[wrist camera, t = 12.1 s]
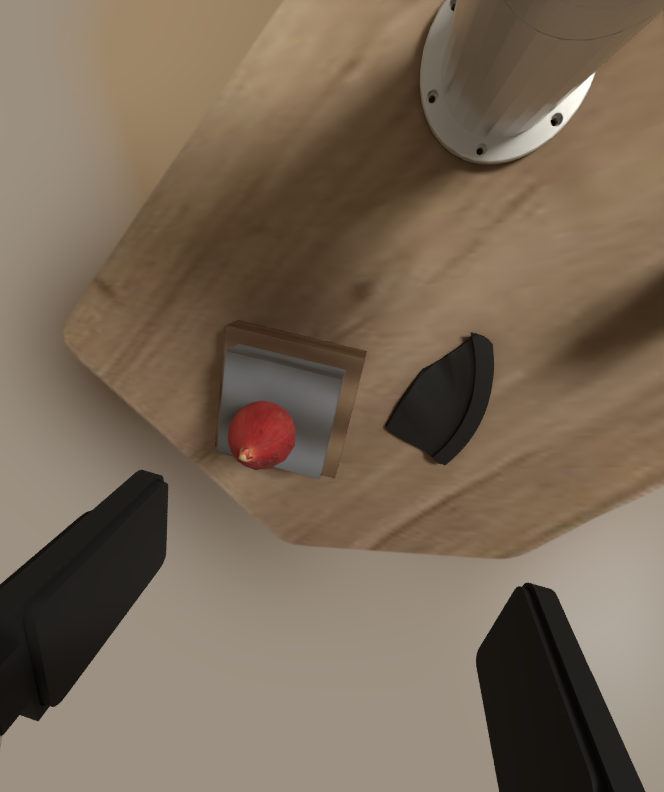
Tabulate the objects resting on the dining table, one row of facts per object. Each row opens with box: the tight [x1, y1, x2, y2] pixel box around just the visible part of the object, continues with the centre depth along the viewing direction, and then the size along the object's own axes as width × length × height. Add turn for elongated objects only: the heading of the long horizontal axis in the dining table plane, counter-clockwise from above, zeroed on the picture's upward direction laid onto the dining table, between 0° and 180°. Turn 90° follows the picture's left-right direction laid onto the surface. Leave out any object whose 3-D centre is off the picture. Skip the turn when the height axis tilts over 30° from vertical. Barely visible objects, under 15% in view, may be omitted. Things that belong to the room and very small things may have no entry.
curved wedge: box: [386, 332, 494, 465], centre depth 38 cm, size 8×14×2 cm, turn 151°
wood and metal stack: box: [215, 321, 367, 479], centre depth 38 cm, size 14×14×6 cm
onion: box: [228, 401, 296, 470], centre depth 32 cm, size 6×6×8 cm
